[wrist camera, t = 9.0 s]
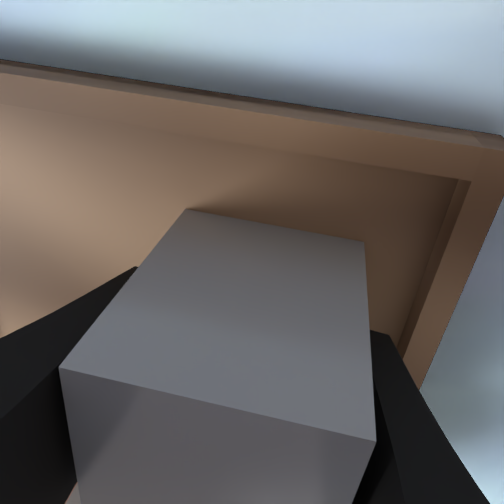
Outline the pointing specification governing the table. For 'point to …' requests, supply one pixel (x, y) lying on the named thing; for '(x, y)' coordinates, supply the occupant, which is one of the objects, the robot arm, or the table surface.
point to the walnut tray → (233, 190)
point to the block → (227, 372)
